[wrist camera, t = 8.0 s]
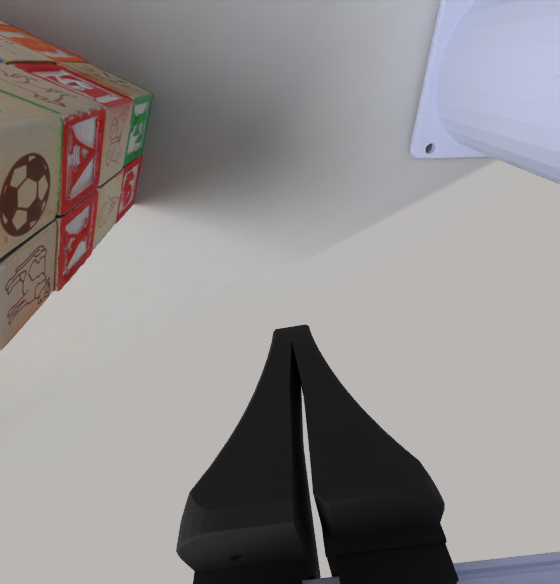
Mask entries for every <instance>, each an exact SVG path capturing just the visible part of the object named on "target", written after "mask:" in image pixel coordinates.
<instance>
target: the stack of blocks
mask: <svg viewBox="0 0 560 584" xmlns="http://www.w3.org/2000/svg"><path fill="white" fill-rule="evenodd" d="M151 101H152V93H150V92H149V91H147V90H144V89H142V88H140V87H138V86H136V85H134V84H131V83H129V82H127V81H125V80H123V79H121V78H119V77H116V76H114V75H112V74H110V73H108V72H106V71H104V70H101V69H99V68H97V67H95V66H93V65H91V64H89V63H88V62H87V61H86V60H84V59H82V58H80V57H78V56H76V55H74V54H71V53H69V52H67V51H65V50H63V49H61V48H59V47H56V46H54V45H52V44H50V43H48V42H46V41H43V40H41V39H39V38H37V37H35V36H33V35H30V34H28V33H26V32H24V31H22V30H20V29H17V28H15V27H12V26H10V25H9V24H7V23H5V22H3V21H1V20H0V350H2V349H3V348H4V347H5V346H6V345H7V344H8V343H9V341H10V340H11V339H12V338H13V337H14V336H15V335H16V334H17V332H18V331H19V330H20V329H21V328H22V327H23V326H24V325H25V323H26V322H27V321H28V320H29V319H30V318H31V317H32V315H33V314H34V313H35V312H36V311H37V310H38V309H39V307H40V306H41V305H42V304H43V303H44V302H45V301H46V299H47V298H48V297H49V295H50V294H51V293H52V291H60V290H61V289H62V288H63V286H64V285H65V284H66V283H67V282H68V281H69V280H70V279H71V277H72V276H73V275H74V274H75V273H76V272H77V270H78V269H79V268H80V266H82V265H83V264H84V263H85V261H86V259H87V258H88V257H89V256H90V255H91V253H92V250H93V249H94V248H95V247H96V246H97V245H98V244H99V242H100V241H101V240H102V239H103V238H104V236H105V235H106V234H107V233H108V232H109V231H110V229H111V228H112V227H113V226H114V224H116V223H117V222H118V221H119V220H120V219H121V218H122V217H123V216H124V214H125V213H126V212H127V211H128V210H129V209H130V208H131V206H132V205H133V203H134V199H135V193H136V188H137V182H138V177H139V171H140V166H141V160H142V149H143V144H144V138H145V133H146V128H147V122H148V117H149V112H150V106H151Z"/></svg>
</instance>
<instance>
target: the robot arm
mask: <svg viewBox="0 0 560 584" xmlns="http://www.w3.org/2000/svg"><path fill="white" fill-rule="evenodd" d="M429 144H432V148H431V150H430V151H429V152H425V149H426V147H427V146H428V145H429ZM410 154H411V155H412V156H413V157H415V158H418V159H421V158H466V157H493V158H496V159H498V160H501V161H503V162H506V163H508V164H511V165H513V166H516V167H518V168H521V169H523V170H526V171H528V172H531V173H533V174H536V175H538V176H541V177H543V178H546V179H548V180H551V181H553V182H556V183H558V184H560V0H441V1H440V6H439V11H438V15H437V20H436V25H435V30H434V34H433V39H432V44H431V49H430V53H429V58H428V63H427V68H426V72H425V77H424V82H423V87H422V91H421V96H420V101H419V106H418V110H417V115H416V120H415V125H414V129H413V134H412V139H411V144H410ZM301 387H302V391H303V396H304V403H305V412H306V422H307V431H308V440H309V451H310V461H311V473H312V484H313V494H314V498H315V502H316V506H317V509H318V513H319V517H320V521H321V525H322V531H323V540H324V546H325V554H326V557H327V559H328V563H329V566H330V570H331V574H332V577H329V578H320V570H319V563H318V556H317V548H316V542H315V533H314V527H313V518H312V510H311V503H310V495H309V487H308V480H307V471H306V463H305V455H304V446H303V428H302V427H303V426H302V398H301ZM443 512H444V501H443V499H442V497H441V495H440V493H439V491H438V489H437V487H436V485H435V484H434V482H433V480H432V479H431V477H430V476H429V474H428V473H427V471H426V470H425V469H424V467H423V466H422V464H421V463H420V461H419V460H418V459H416V458H415V457H414V456H413V455H411V454H410V453H409V452H408V451H407V450H405V449H404V448H403V447H402V446H401V445H399V444H398V443H397V442H396V441H395V440H394V439H393V438H392V437H391V436H390V435H388V434H387V433H386V432H385V431H384V430H383V429H382V428H381V427H380V426H379V425H378V424H377V423H376V422H375V421H374V420H373V419H372V418H371V417H370V416H369V415H368V414H367V413H366V412H365V411H364V410H363V409H362V408H361V407H360V405H359V404H358V403H357V402H356V401H355V400H354V399H353V397H352V396H351V395H350V394H349V393H348V392H347V390H346V389H345V388H344V387H343V385H342V384H341V383H340V381H339V380H338V378H337V377H336V376H335V374H334V373H333V372H332V370H331V369H330V367H329V366H328V364H327V363H326V361H325V359H324V358H323V356H322V355H321V353H320V351H319V349H318V347H317V345H316V343H315V341H314V339H313V337H312V335H311V332H310V329H309V326H307V325H300V326H294V327H288V328H281V329H276V330H275V331H274V332H273V338H272V343H271V347H270V351H269V354H268V358H267V360H266V363H265V366H264V370H263V372H262V375H261V378H260V380H259V382H258V385H257V387H256V389H255V392H254V394H253V396H252V398H251V401H250V402H249V404H248V407H247V408H246V411H245V412H244V414H243V416H242V418H241V420H240V421H239V423H238V425H237V427H236V428H235V430H234V432H233V433H232V435H231V437H230V438H229V440H228V441H227V443H226V444H225V445H224V447H223V448H222V450H221V451H220V453H219V455H218V456H217V457H216V459H215V460H214V462H213V463H212V464H211V466H210V467H209V469H208V470H207V471H206V472H205V473H204V475H203V476H202V477H201V479H200V480H199V481H198V483H197V484H196V485H195V486H194V487H193V489H192V490H191V491H190V493H189V496H188V499H187V502H186V505H185V509H184V513H183V516H182V520H181V525H180V531H179V537H178V543H177V550H176V552H177V553H178V555H179V556H180V558H181V559H182V560H183V561H184V562H185V563H186V564H188V566H190V567H191V568H192V569H193V570H194V571H195V573H194V581H193V584H560V552H553V553H544V554H536V555H526V556H517V557H508V558H499V559H491V560H482V561H473V562H463V563H456V564H455V563H454V564H453V563H452V560H451V557H450V555H449V552H448V550H447V547H446V545H445V543H446V537H445V535H444V532H443V530H442V527H441V524H440V521H441V518H442V515H443Z"/></svg>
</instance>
